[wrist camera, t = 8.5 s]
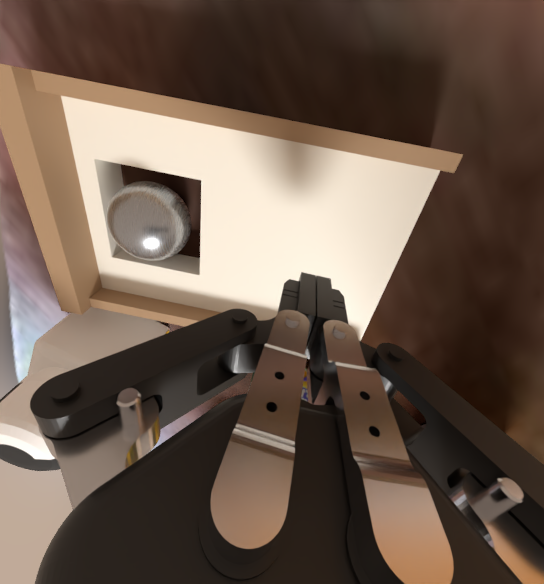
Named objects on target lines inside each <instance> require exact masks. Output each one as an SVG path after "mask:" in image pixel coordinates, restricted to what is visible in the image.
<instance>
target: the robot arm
mask: <svg viewBox="0 0 544 584" xmlns="http://www.w3.org/2000/svg"><path fill="white" fill-rule="evenodd" d="M307 359H310V364H309V366H308V369H307V373H306V375H307V392H308V402H307V401H305V400H303V399H301V395H302V388H303V381H304V374H305V367H306V360H307ZM252 372H255V373H254V376H253V379H252V382H251V385H250V388H249V390H248V393H247V394H242V395H237V396H234V397H232V398H229V399H227V400H225V401H223V402H221V403H220V404H218V405H217V406H215V407H214V408H212V409H211V410H209V411H208V412H207V413H205V414H204V415H202V416H201V417H199V418H198V419H197V420H195V421H194V422H192V423H191V424H189V425H188V426H186V427H185V428H184V429H182V430H181V431H179V432H178V433H176V434H175V435H173V436H172V437H171V438H169V439H168V440H166V441H165V442H163V443H162V444H161V445H159V446H158V447H156V448H155V449H153V448H154V446H155V445H156V443H157V441H158V440H159V437H160V429H162V428H163V427H165V426H167V425H168V424H170V423H171V422H173V421H175V420H176V419H178V418H180V417H181V416H183V415H184V414H186V413H188V412H189V411H191V410H193V409H194V408H196V407H198V406H199V405H201V404H202V403H204V402H206V401H207V400H209V399H211V398H212V397H214V396H215V395H217V394H219V393H220V392H222V391H224V390H225V389H227V388H229V387H230V386H232V385H233V384H235V383H237V382H238V381H240V380H242V379H243V378H244V377H245V376H246V375H247V373H252ZM398 390H399V391H400V392H401V393H402V394H403V395H404V396H405V397H406V398H407V399H408V400H409V401H410V402H411V403H412V404H413V405H414V406H415V407H416V408H417V409H418V410H419V411H420V412H421V413H422V414H423V415H424V417H425V419H426V424H425V425H422V426H420V425H419V424H418V423H417V422H416V421H415V420H414V419H413V418H412V417H411V416H410V415H409V413H408V412H407V411H406V410H405V409H404V408H403V407H402V406H401V405H400V404H399V403H398V402H397V401H396V400H395V399H394V398H393V397H394V396H395V394H396V393H397V391H398ZM30 408H31V411H32V413H33V415H34V417H35V419H36V421H37V423H38V425H39V426H38V428H39V432H40V434H41V435H42V437H43V439H44V441H45V443H46V445H47V447H48V449H49V451H50V453H51V455H52V456H53V457H54V458H55V459H56V460H57V462H58V464H59V466H60V469H61V472H62V475H63V479H64V482H65V485H66V488H67V492H68V495H69V498H70V501H71V505H72V508H73V511H72V512H71V513H70V514H69V516H68V517H67V518H66V520H65V521H64V522H63V524H62V525H61V526H60V528H59V529H58V531H57V533H56V534H55V536H54V538H53V539H52V541H51V543H50V545H49V547H48V549H47V551H46V553H45V555H44V557H43V560H42V562H41V565H40V568H39V571H38V574H37V578H36V581H35V584H544V465H543V464H542V463H541V462H539V461H538V460H537V459H536V458H534V457H533V456H532V455H531V454H530V453H528V452H527V451H526V450H525V449H524V448H522V447H521V446H520V445H519V444H518V443H516V442H515V441H514V440H513V439H512V438H510V437H509V436H508V435H507V434H506V433H504V432H503V431H502V430H501V429H499V428H498V427H497V426H496V425H495V424H493V423H492V422H491V421H490V420H489V419H487V418H486V417H485V416H484V415H483V414H481V413H480V412H479V411H478V410H477V409H475V408H474V407H473V406H472V405H471V404H469V403H468V402H467V401H466V400H465V399H463V398H462V397H461V396H460V395H458V394H457V393H456V392H455V391H454V390H452V389H451V388H450V387H449V386H448V385H446V384H445V383H444V382H443V381H442V380H440V379H439V378H438V377H437V376H436V375H434V374H433V373H432V372H431V371H430V370H428V369H427V368H426V367H425V366H423V365H422V364H421V363H420V362H419V361H417V360H416V359H415V358H414V357H413V356H411V355H410V354H409V353H408V352H407V351H405V350H404V349H402V348H401V347H399V346H397V345H394V344H390V343H382V344H380V345H378V347H377V349H375V348H373V347H371V346H368V345H366V344H364V343H362V342H361V341H359V340H358V336H357V333H356V331H355V330H354V329H353V328H352V327H351V326H350V325H349V324H348V318H347V312H346V306H345V300H344V296H343V295H342V294H341V292H340V291H339V290H336V289H332V285H331V279H330V278H326V277H322V276H317V275H313V274H308V273H304V272H301V275H300V278H299V281H296V280H291V279H289V280H288V281H286V282H285V283H284V287H283V291H282V295H281V299H280V304H279V308H278V313H277V315H276V317H274V318H272V319H269V320H257V318H256V316H255V315H254V314H253V313H251V312H250V311H247V310H244V309H230V310H227V311H225V312H222V313H220V314H217V315H214V316H212V317H209V318H206V319H204V320H201V321H199V322H196V323H193V324H191V325H188V326H185V327H183V328H180V329H178V330H175V331H172V332H170V333H167V334H164V335H162V336H159V337H157V338H154V339H151V340H149V341H146V342H144V343H141V344H138V345H136V346H133V347H130V348H128V349H125V350H123V351H120V352H117V353H115V354H112V355H109V356H107V357H104V358H102V359H99V360H96V361H94V362H91V363H89V364H86V365H83V366H81V367H78V368H75V369H73V370H70V371H68V372H65V373H62V374H60V375H57V376H55V377H53V378H51V379H49V380H48V381H46V382H45V383H43V384H42V385H41V386H40V387H39V388H38V389H37V390H36V391H35V393H34V394H33V396H32V398H31V401H30ZM152 449H153V450H152ZM151 450H152V451H151ZM148 452H149V453H148ZM147 453H148V454H147Z"/></svg>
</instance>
